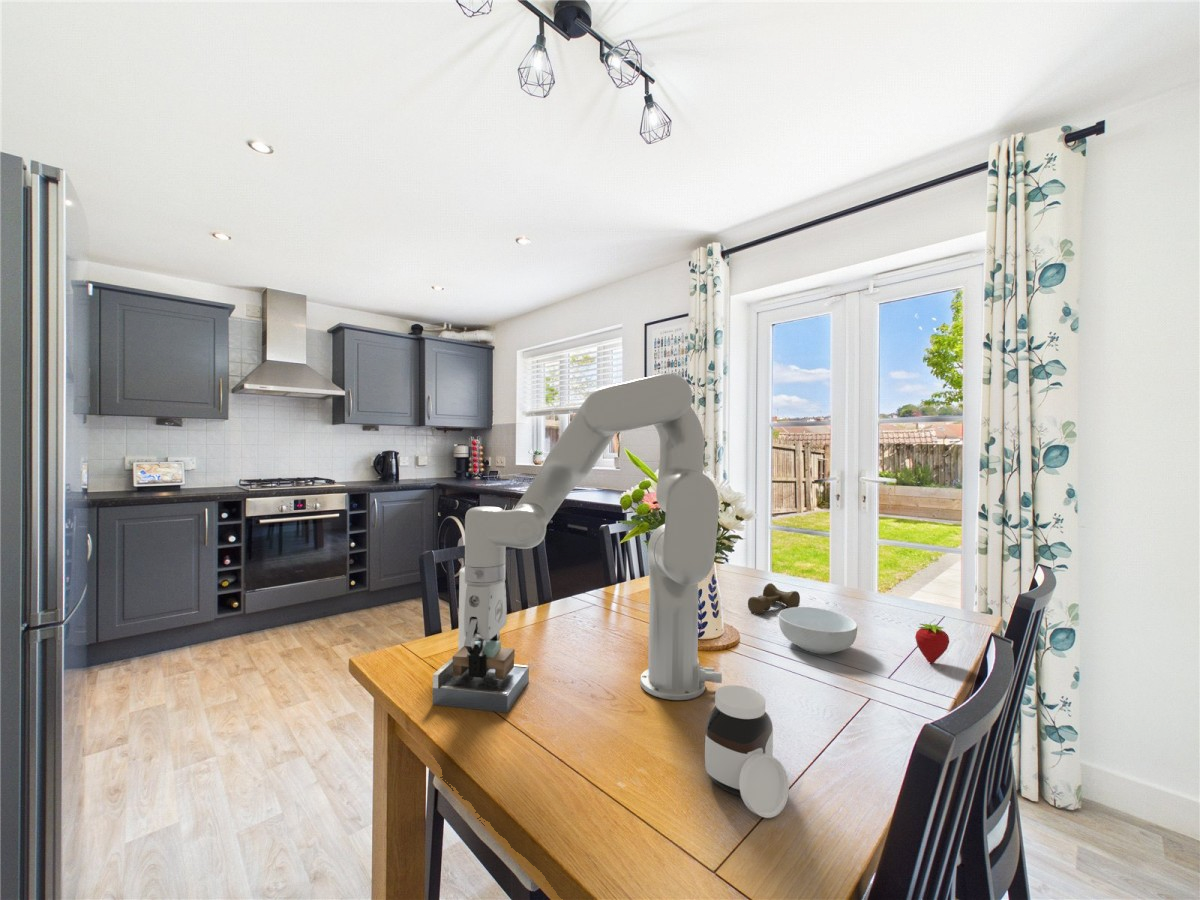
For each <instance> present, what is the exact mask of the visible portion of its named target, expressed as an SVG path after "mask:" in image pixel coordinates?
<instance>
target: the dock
mask: <svg viewBox="0 0 1200 900" xmlns="http://www.w3.org/2000/svg"><path fill="white" fill-rule="evenodd" d="M529 681H530V665H524V664H523V665H522V664H515V663H514V667H513V669H512V670H511V671H510V672H509V674H508V675H507V676H506V677H505V679H504V680H500V679H495V669H490V670H489V671H488V672H487V673H486V676H485V677H484V678H479V677H470V676H469V668H468V669H467V670H466V671H465V672H464V673H463V674H462V675H461V676H457V675H453V656H452V657H451V658H450V659H448V661H446V663H444V664H443V665H442V666H440V668H438V669H437V671H435V672H434V673H433V674H432V705H433V706H441V707H442V706H443V707H450V708H451V707H452V708H458V709H460V708H461V709H469V710H479V711H487V712H496V713H497V712H498V713H504V714H505V713H507V714H508V712H509V711H510V710H511V708H512V706H513V705H514V704H515V702H516V701H517V699H518V698H519V696H520V695H521V693H522V692H523V691H524V690H525V687H526V686H527V685H528V683H529Z"/></svg>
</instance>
